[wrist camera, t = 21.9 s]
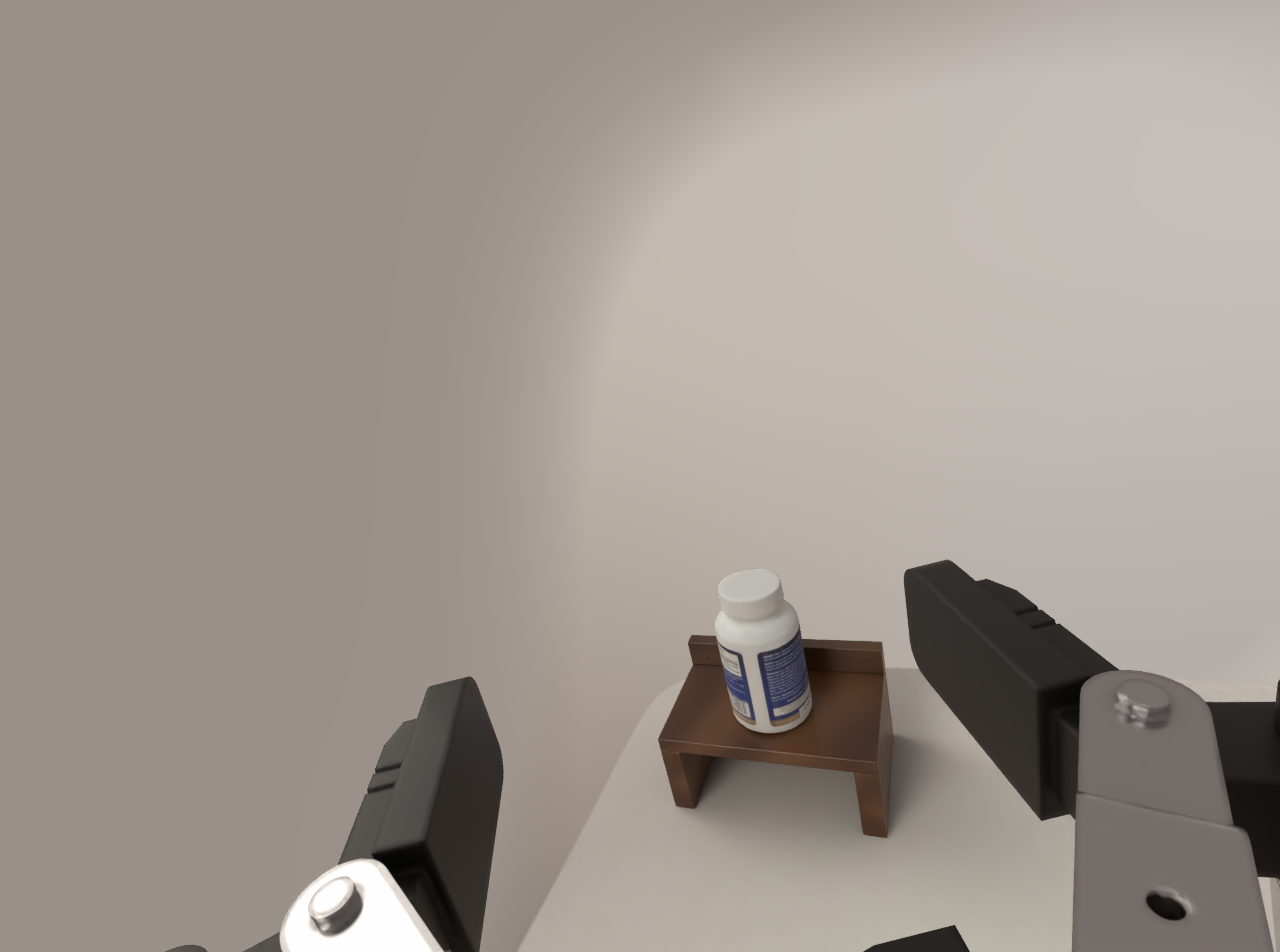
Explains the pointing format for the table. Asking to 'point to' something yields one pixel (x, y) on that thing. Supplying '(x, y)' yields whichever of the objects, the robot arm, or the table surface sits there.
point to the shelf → (828, 738)
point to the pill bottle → (762, 652)
